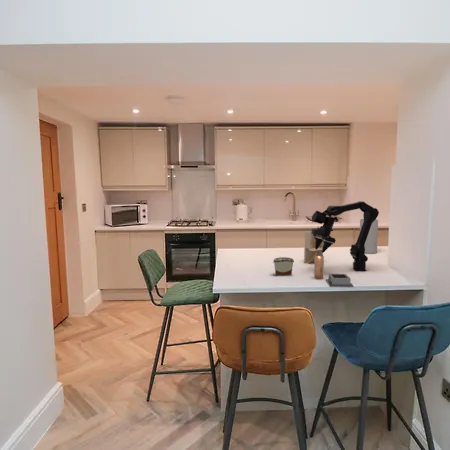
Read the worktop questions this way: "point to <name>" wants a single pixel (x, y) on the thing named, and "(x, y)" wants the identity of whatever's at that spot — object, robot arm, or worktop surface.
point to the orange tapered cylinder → (319, 267)
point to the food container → (283, 266)
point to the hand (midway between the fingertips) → (319, 250)
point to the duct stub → (339, 280)
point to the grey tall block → (371, 237)
